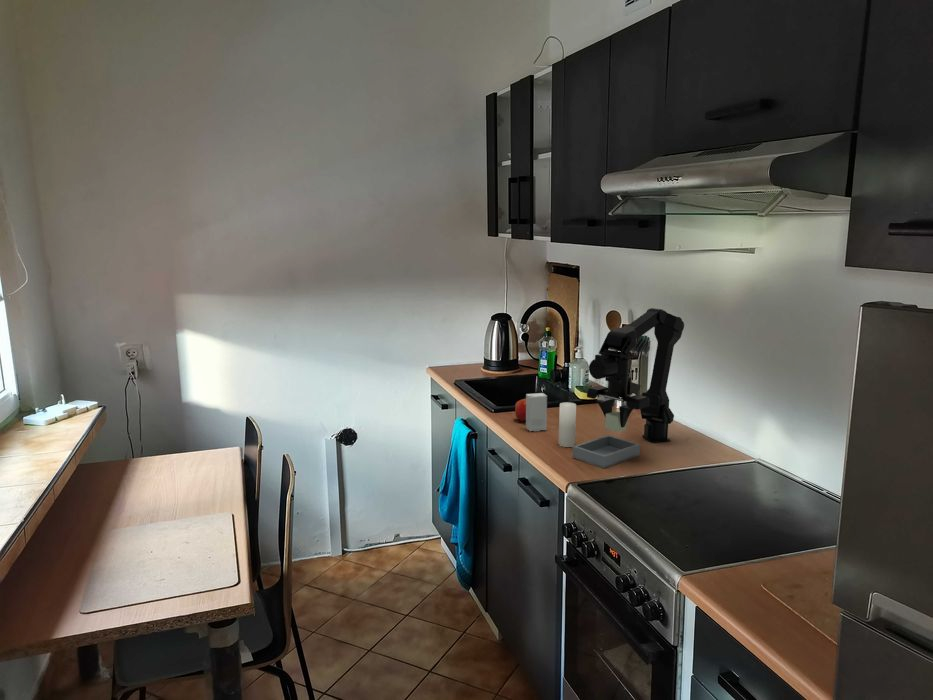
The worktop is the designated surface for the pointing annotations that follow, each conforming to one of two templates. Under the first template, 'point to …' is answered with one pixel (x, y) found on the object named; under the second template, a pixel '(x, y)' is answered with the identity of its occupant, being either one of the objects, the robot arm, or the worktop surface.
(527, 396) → the skincare box
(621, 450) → the tote
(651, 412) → the robot arm
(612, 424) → the green cube
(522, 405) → the apple
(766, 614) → the worktop surface
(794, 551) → the worktop surface
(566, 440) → the white cylinder
